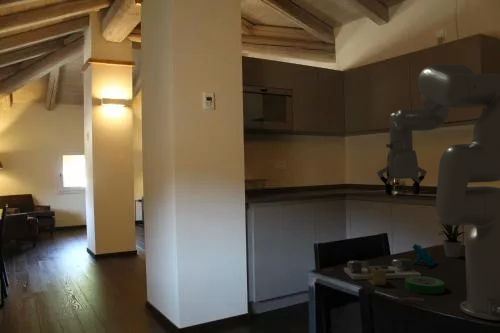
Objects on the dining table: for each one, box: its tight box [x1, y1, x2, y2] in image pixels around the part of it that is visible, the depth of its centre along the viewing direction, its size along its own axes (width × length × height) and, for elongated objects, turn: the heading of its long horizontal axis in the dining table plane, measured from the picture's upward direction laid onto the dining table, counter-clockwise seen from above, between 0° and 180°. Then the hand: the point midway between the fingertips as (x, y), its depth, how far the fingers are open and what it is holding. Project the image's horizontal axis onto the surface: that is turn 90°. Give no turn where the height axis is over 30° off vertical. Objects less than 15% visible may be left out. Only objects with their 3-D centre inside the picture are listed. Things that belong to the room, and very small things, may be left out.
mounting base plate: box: [343, 265, 422, 281], centre depth 141 cm, size 12×23×2 cm, turn 92°
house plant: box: [435, 219, 468, 258], centre depth 168 cm, size 14×14×16 cm
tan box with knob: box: [367, 267, 387, 286], centre depth 131 cm, size 6×4×5 cm, turn 2°
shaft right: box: [391, 257, 414, 271], centre depth 142 cm, size 7×4×4 cm, turn 107°
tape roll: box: [404, 275, 446, 295], centre depth 123 cm, size 11×11×3 cm
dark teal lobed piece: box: [412, 243, 436, 267], centre depth 154 cm, size 11×6×10 cm
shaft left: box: [346, 259, 370, 273], centre depth 141 cm, size 7×4×4 cm, turn 92°
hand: (402, 194), depth 144 cm, fingers open, 9 cm apart
